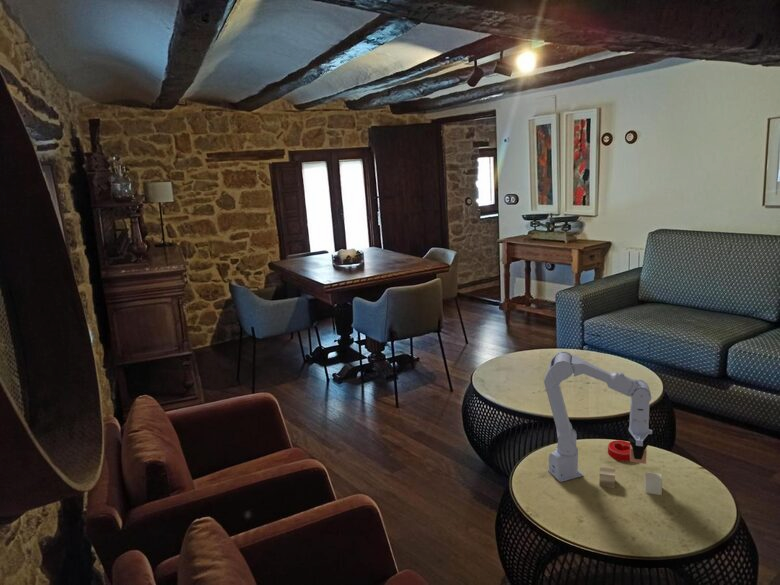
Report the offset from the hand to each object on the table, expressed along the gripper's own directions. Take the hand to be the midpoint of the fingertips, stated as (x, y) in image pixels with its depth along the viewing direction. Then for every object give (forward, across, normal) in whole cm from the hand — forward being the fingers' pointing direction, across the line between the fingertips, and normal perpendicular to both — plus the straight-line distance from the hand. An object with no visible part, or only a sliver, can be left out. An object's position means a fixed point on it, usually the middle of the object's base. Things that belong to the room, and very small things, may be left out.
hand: (637, 454), depth 180 cm
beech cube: (+10, -4, +9) cm, 14 cm away
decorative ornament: (+11, +16, +5) cm, 20 cm away
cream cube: (+10, -4, -5) cm, 12 cm away
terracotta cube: (+2, 0, 0) cm, 2 cm away
